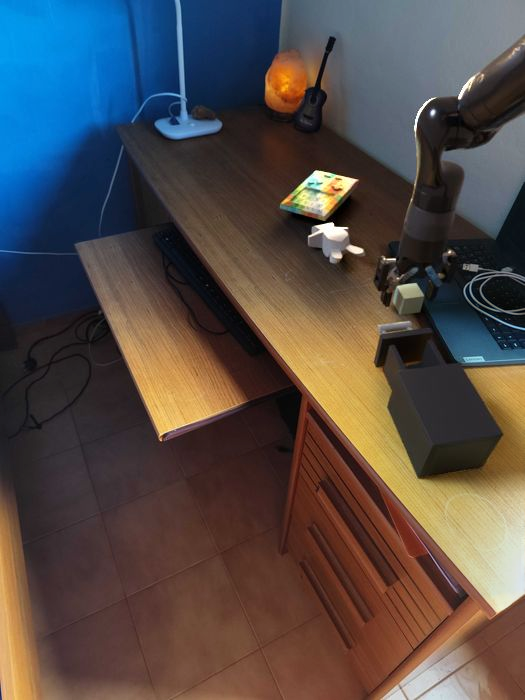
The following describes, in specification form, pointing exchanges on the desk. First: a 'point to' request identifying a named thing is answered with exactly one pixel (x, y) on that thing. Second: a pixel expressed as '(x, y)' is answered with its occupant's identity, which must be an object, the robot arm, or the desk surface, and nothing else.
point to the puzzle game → (320, 195)
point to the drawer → (405, 349)
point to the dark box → (442, 420)
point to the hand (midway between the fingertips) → (407, 301)
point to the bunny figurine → (333, 241)
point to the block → (408, 298)
